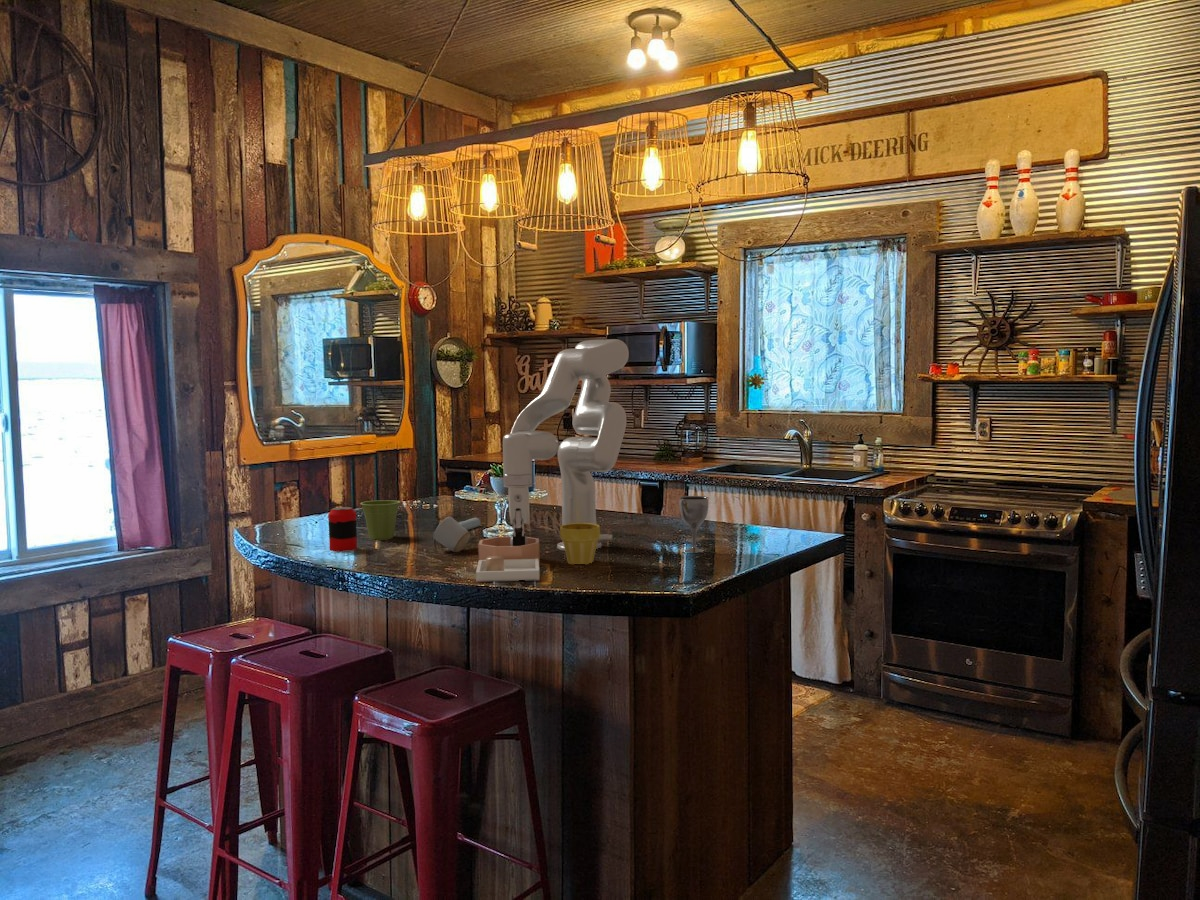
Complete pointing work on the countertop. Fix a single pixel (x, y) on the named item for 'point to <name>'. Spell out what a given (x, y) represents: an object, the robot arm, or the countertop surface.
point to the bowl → (508, 548)
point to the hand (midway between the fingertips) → (519, 549)
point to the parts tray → (509, 571)
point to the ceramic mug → (451, 534)
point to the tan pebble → (495, 563)
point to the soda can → (342, 529)
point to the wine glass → (694, 515)
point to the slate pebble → (512, 540)
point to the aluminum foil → (470, 523)
